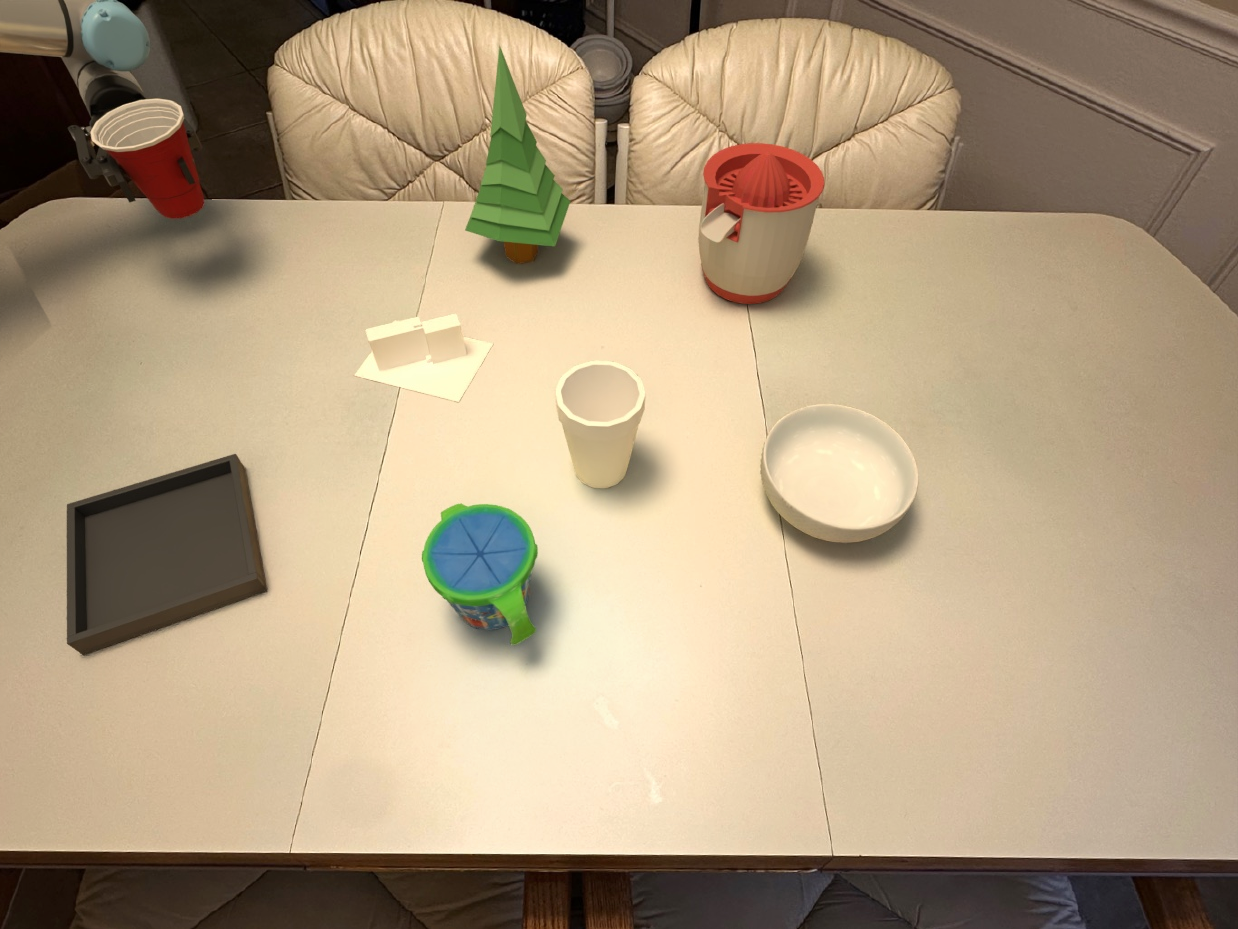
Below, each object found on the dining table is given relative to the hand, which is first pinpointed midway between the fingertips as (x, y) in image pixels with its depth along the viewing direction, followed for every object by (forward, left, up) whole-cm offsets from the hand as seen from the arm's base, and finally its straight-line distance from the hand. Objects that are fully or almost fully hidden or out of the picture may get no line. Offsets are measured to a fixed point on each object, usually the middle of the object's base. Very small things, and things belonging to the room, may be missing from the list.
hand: (157, 182), depth 91 cm
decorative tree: (+21, +38, -18) cm, 47 cm away
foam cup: (+59, +19, -18) cm, 65 cm away
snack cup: (+64, -1, -18) cm, 67 cm away
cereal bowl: (+80, +35, -18) cm, 89 cm away
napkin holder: (+30, +14, -18) cm, 38 cm away
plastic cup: (-5, +2, -7) cm, 8 cm away
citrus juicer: (+48, +57, -18) cm, 77 cm away
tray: (+36, -23, -18) cm, 46 cm away
